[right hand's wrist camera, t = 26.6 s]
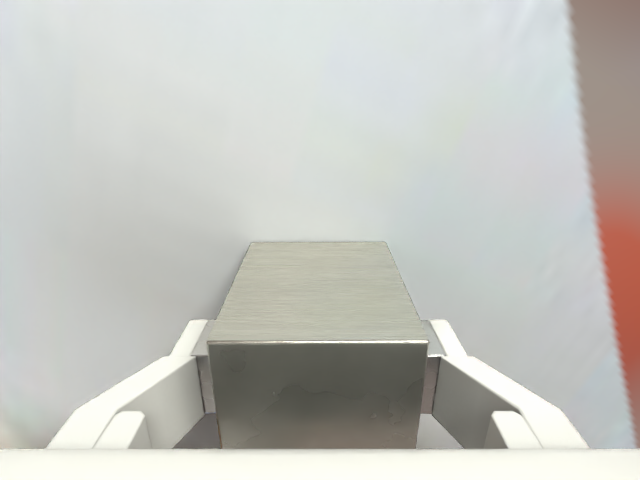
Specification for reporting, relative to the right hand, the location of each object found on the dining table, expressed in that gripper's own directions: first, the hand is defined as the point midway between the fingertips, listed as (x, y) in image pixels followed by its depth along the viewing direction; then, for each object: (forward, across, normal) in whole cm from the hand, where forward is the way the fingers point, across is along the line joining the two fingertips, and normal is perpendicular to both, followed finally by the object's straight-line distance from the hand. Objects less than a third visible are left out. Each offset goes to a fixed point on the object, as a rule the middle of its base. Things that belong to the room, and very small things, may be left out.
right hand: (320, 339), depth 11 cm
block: (+2, 0, 0) cm, 2 cm away
